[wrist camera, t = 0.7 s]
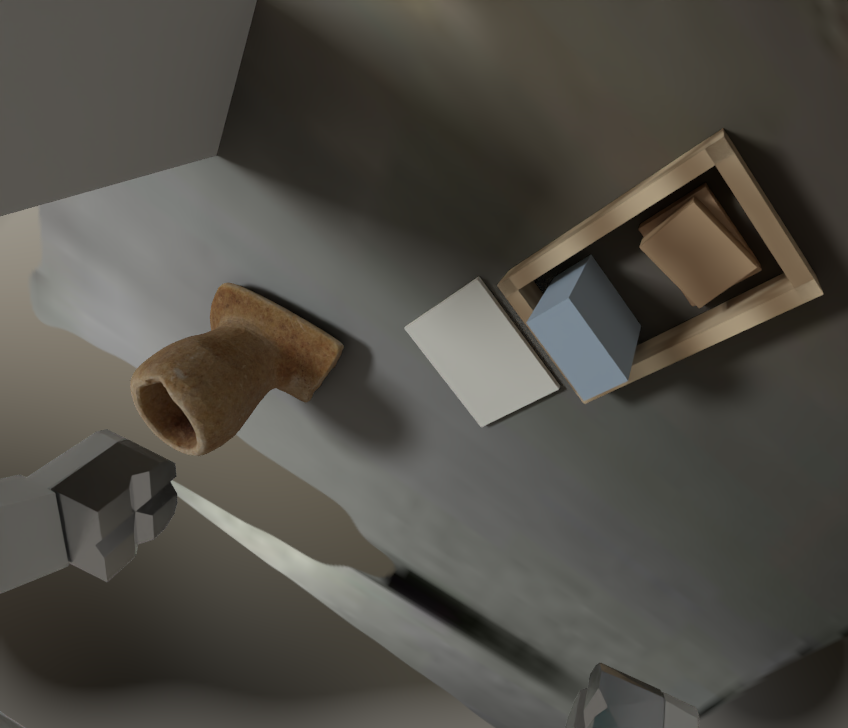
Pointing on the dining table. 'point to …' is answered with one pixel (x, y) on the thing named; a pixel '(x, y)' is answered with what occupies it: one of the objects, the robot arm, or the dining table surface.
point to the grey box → (111, 90)
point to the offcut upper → (698, 252)
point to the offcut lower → (714, 207)
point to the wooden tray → (714, 323)
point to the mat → (481, 354)
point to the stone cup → (230, 370)
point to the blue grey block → (586, 329)
